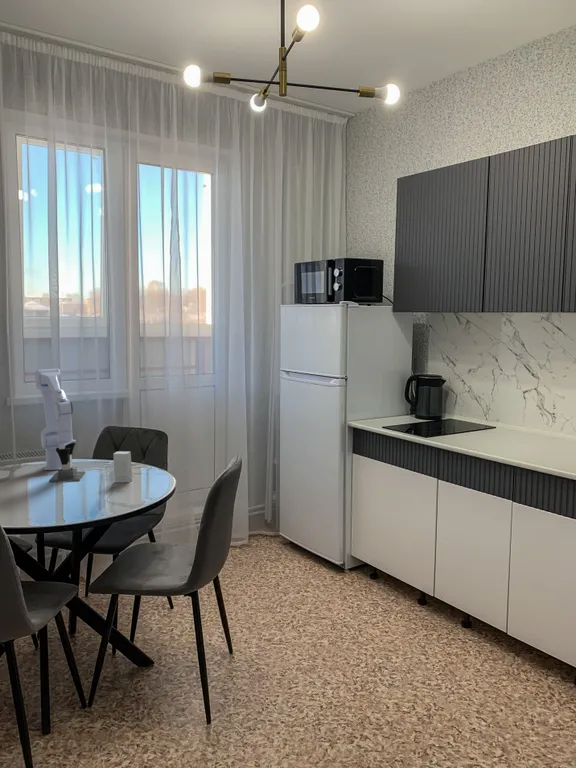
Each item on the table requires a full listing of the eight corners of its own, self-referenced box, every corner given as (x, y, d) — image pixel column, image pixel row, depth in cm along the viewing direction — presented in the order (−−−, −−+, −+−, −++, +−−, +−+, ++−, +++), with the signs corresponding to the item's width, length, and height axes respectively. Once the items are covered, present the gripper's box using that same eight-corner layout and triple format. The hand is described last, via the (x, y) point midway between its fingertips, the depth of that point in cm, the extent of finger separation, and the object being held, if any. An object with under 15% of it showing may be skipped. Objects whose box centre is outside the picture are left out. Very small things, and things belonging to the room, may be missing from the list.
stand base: (56, 474, 263) (55, 465, 262) (85, 473, 264) (84, 464, 264) (49, 482, 251) (48, 472, 251) (79, 480, 253) (78, 471, 252)
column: (63, 470, 259) (63, 454, 258) (72, 470, 259) (71, 454, 258) (61, 472, 255) (61, 456, 255) (70, 472, 256) (69, 456, 255)
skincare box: (132, 479, 254) (131, 451, 252) (128, 482, 249) (127, 453, 248) (118, 479, 254) (116, 451, 253) (114, 482, 250) (112, 453, 248)
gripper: (71, 433, 248) (72, 466, 250) (78, 426, 263) (80, 457, 265) (52, 434, 248) (54, 466, 249) (61, 427, 262) (63, 458, 264)
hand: (66, 462), depth 257 cm, fingers open, 7 cm apart
